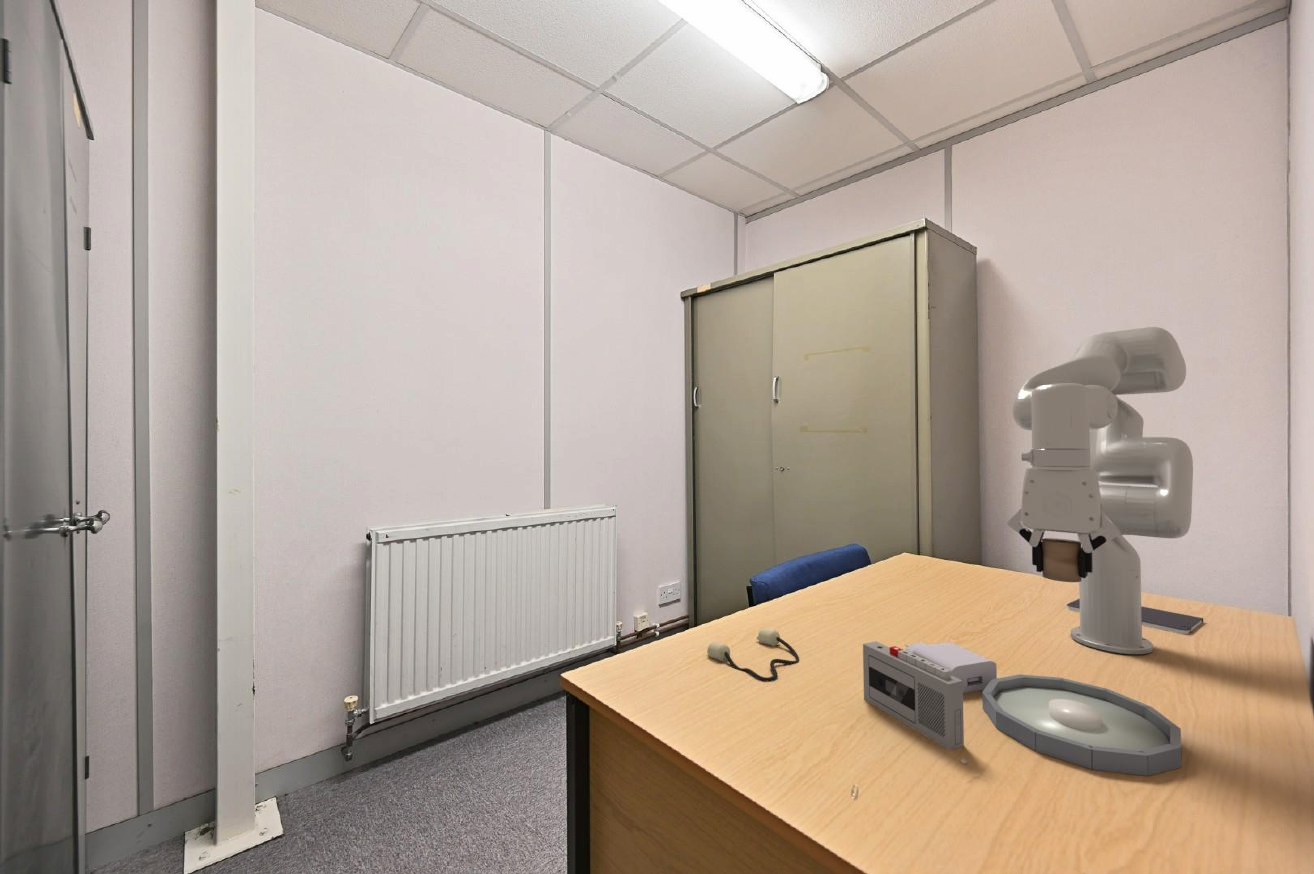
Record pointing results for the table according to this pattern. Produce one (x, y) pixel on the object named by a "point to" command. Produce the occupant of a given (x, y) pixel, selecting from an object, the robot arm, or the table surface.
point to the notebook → (1159, 619)
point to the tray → (1083, 724)
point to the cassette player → (915, 692)
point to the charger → (958, 663)
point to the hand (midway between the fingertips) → (1061, 572)
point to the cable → (764, 636)
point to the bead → (1061, 559)
